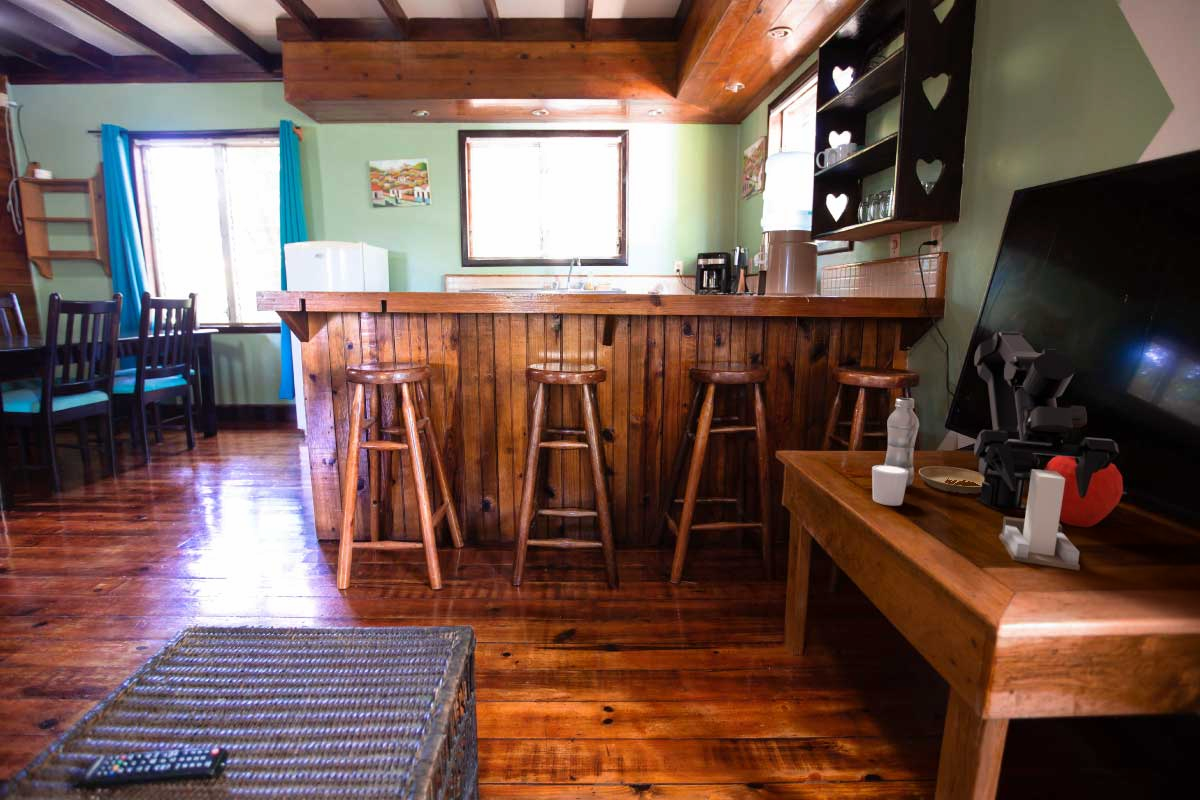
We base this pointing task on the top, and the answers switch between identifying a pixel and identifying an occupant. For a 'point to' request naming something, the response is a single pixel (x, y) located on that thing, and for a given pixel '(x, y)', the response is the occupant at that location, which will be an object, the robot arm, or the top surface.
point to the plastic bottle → (902, 436)
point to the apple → (1098, 498)
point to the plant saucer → (952, 478)
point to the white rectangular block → (1043, 511)
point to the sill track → (1019, 548)
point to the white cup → (889, 484)
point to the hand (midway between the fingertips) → (1048, 493)
